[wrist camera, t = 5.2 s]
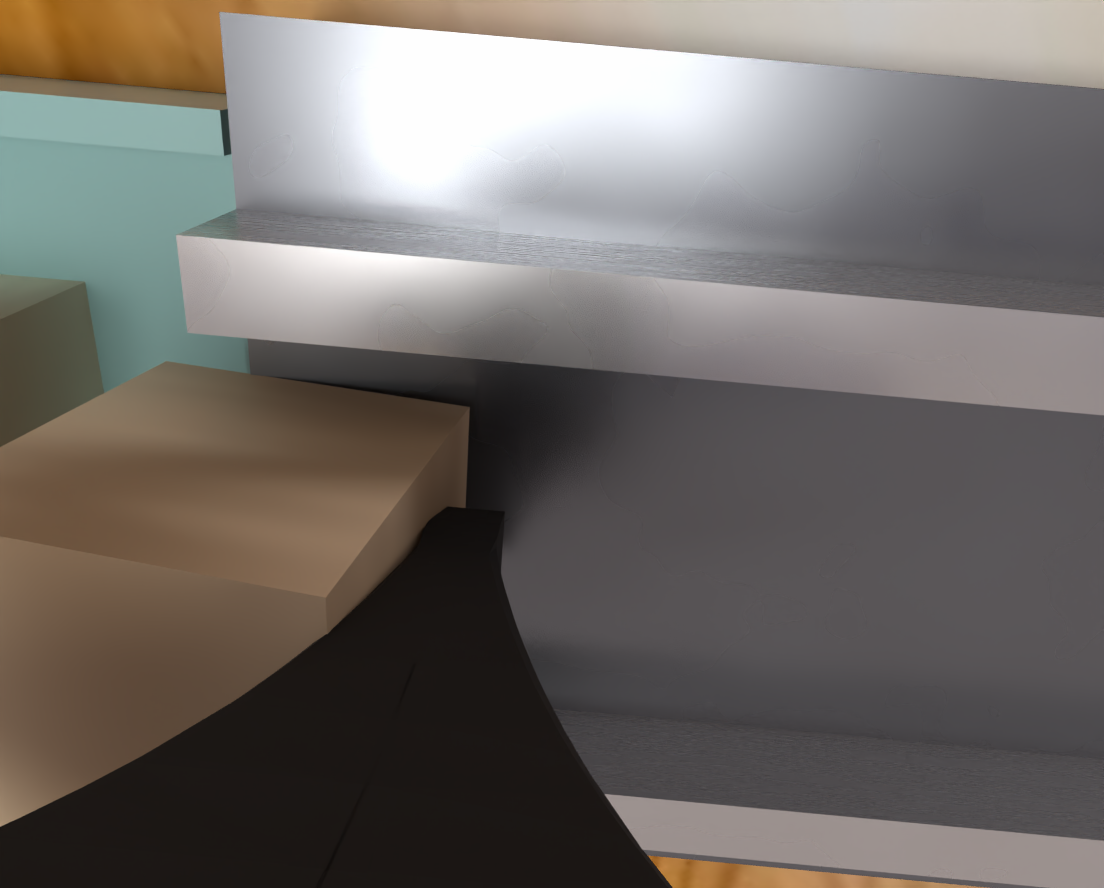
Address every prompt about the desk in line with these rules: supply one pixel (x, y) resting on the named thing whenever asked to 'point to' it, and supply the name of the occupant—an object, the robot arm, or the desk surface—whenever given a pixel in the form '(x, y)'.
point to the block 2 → (193, 553)
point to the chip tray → (116, 208)
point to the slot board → (727, 411)
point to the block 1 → (44, 352)
